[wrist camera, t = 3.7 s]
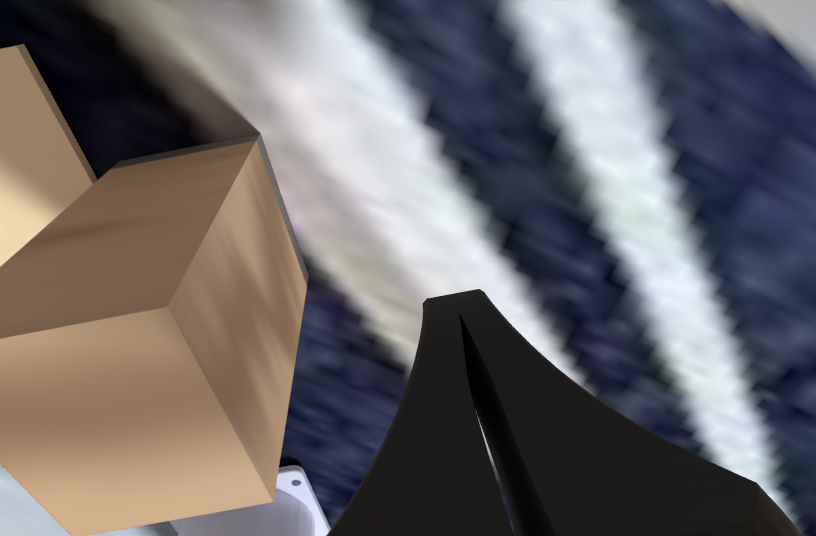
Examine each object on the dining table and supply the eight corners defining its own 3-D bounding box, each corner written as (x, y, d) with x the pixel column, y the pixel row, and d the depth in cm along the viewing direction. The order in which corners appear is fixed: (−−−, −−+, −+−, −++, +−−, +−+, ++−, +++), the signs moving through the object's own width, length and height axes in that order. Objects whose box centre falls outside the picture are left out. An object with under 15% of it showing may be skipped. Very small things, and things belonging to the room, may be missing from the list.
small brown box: (308, 275, 21) (273, 502, 12) (189, 298, 21) (73, 538, 12) (260, 133, 17) (167, 306, 9) (119, 160, 18) (-104, 358, 9)
